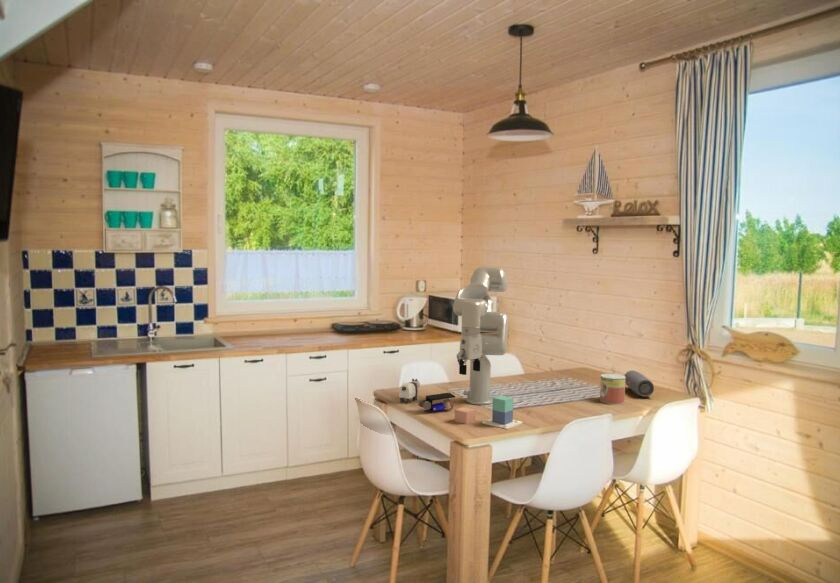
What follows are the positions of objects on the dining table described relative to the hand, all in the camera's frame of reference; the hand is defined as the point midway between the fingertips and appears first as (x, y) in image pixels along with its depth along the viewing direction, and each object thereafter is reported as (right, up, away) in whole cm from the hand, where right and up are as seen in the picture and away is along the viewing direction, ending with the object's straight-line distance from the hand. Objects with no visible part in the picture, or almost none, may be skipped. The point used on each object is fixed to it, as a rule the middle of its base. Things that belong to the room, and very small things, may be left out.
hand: (469, 372), depth 268 cm
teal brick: (+13, -15, -1) cm, 20 cm away
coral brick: (-2, -20, +2) cm, 21 cm away
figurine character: (-13, -19, +17) cm, 28 cm away
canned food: (+70, -19, +40) cm, 83 cm away
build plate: (+13, -21, 0) cm, 25 cm away
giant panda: (-25, -17, +35) cm, 46 cm away
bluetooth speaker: (+87, -18, +56) cm, 106 cm away
